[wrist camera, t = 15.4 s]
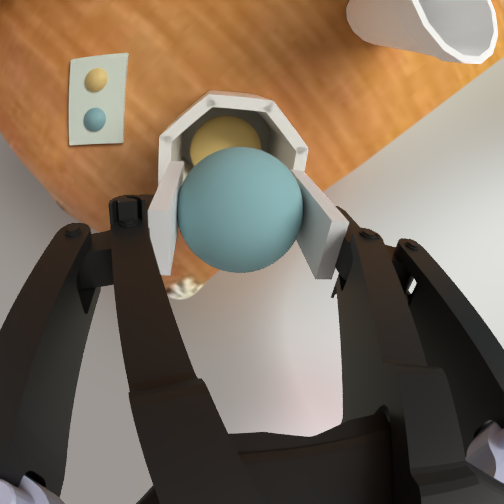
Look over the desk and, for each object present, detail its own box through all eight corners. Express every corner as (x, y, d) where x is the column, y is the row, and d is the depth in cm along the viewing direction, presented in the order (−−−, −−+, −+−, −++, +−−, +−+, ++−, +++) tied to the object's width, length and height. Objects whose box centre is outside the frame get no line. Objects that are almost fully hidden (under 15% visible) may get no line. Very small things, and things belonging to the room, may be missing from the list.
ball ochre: (195, 109, 25) (189, 118, 20) (261, 115, 26) (270, 124, 21) (191, 170, 28) (184, 193, 23) (253, 174, 29) (260, 198, 24)
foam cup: (313, 15, 21) (382, -17, 10) (360, -34, 17) (436, -69, 6) (382, 75, 25) (470, 89, 14) (421, 25, 21) (508, 25, 10)
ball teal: (185, 133, 15) (170, 161, 10) (294, 143, 16) (335, 175, 11) (181, 232, 18) (171, 297, 13) (278, 236, 19) (303, 299, 14)
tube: (179, 88, 24) (161, 92, 15) (281, 97, 25) (316, 107, 17) (173, 183, 29) (158, 231, 20) (267, 189, 30) (290, 237, 22)
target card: (72, 59, 20) (70, 59, 19) (128, 53, 21) (127, 52, 20) (71, 144, 25) (68, 145, 24) (123, 142, 26) (122, 143, 25)
